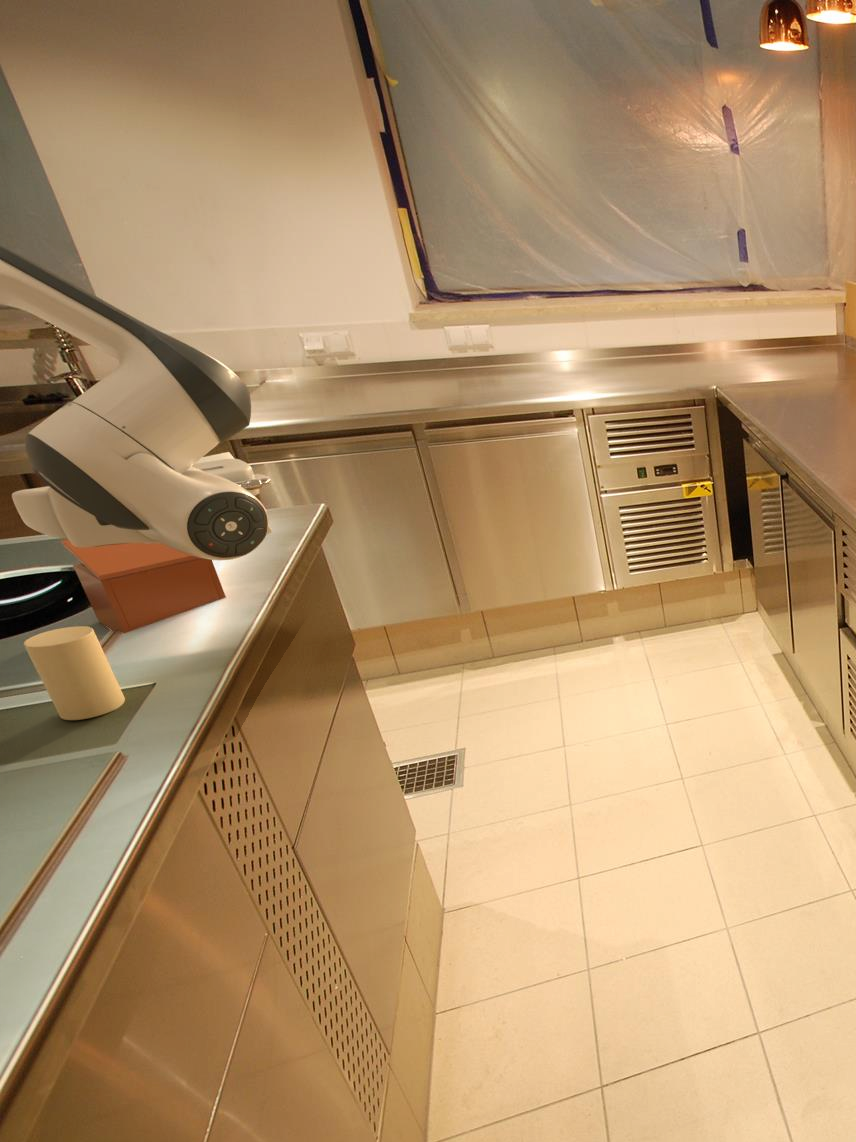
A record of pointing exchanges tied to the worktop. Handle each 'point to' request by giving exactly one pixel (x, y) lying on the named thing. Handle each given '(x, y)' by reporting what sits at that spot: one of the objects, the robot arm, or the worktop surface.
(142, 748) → the worktop surface
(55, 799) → the worktop surface
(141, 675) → the worktop surface
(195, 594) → the tin
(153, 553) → the tin lid
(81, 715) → the candle
